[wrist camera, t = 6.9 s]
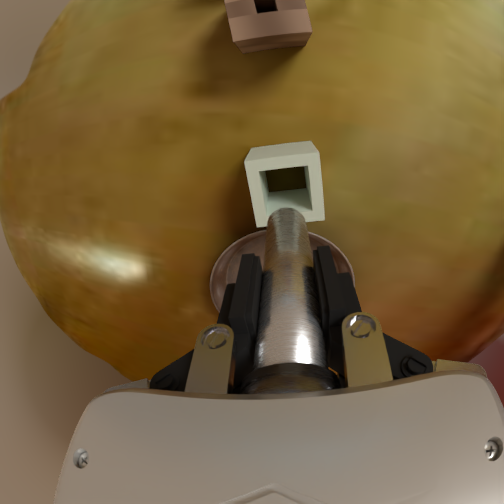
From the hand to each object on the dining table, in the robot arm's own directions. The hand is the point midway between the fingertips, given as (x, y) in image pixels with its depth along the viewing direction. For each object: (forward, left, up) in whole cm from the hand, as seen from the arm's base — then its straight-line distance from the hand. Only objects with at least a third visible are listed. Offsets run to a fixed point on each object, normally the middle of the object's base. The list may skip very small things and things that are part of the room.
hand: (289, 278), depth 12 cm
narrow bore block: (-1, -16, -18) cm, 24 cm away
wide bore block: (0, 0, -18) cm, 18 cm away
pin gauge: (0, 0, -5) cm, 5 cm away
